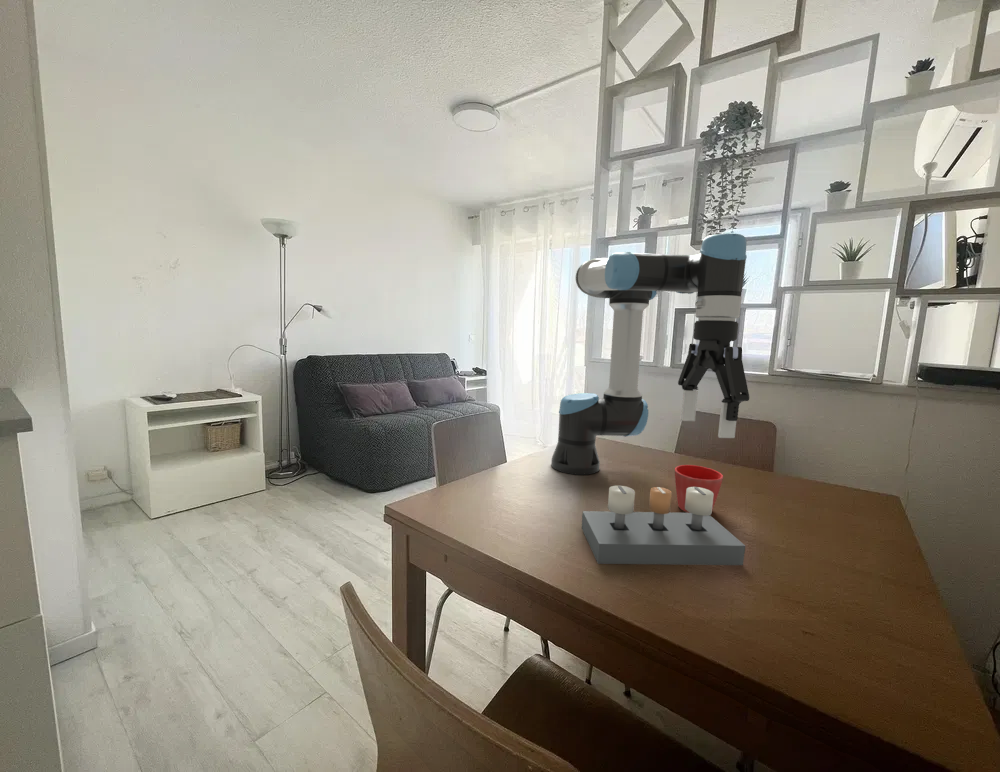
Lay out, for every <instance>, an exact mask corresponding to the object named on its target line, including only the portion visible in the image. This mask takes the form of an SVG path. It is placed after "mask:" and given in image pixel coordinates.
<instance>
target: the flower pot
mask: <svg viewBox="0 0 1000 772" xmlns="http://www.w3.org/2000/svg"><path fill="white" fill-rule="evenodd" d="M723 480H724V475H723V474H722V473H721V472H720V471H717V470H715V469H713V468H709V467H705V466H701V465H695V464H681V465H677V466H676V467H675V468H674V482H675V491H676V498H677V499H676V500H677V506H678V507H679V509H680V510H681V511H683V512H684V513H690V512H688V511H687V510H686V509H685V500H686V490H687V488H689V487H700V488H705V489H708V490H710V491H712V492H713V493H714V496H713V505H712V511H713V509H714V508H715V504H716V502H717V500H718V499H717V498H718V496H719V493H720V490H721V486H722V483H723Z"/></svg>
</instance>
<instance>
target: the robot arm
mask: <svg viewBox="0 0 1000 772" xmlns="http://www.w3.org/2000/svg"><path fill="white" fill-rule="evenodd" d="M701 242H702V243H701V247H700V250H699V253H697V254H692V255H690V254H671V253H670V254H668V253H667V254H665V253H664V254H663V253H643V252H641V253H640V252H639V253H638V252H630V251H627V252H626V251H624V252H614V253H611V254H610V255H609V256H608V257H601V258H593V259H589V260H586V261H584V262H583V263H581V264H580V265H579V266H578V268H577V270H576V273H575V282H576V287H577V288H578V289H579V291H581V292H582V293H583V294H584V295H585V294H586V295H588V296H589V297H593V298H599V299H608V305H609V307H610V308H611V309H612V310H613V318H612V335H611V336H612V337H611V350H610V365H609V366H610V367H609V379H608V380H609V384H608V388H607V389H605V390H604V391H603V397H602V398H599V395H598V394H597V393H592V392H590V393H589V392H588V393H587V392H581V393H578V392H577V393H572V394H571V393H570V394H568V395H565V396H564V397H562V398H561V400H560V404H559V410H558V414H559V415H558V416H559V417H558V418H559V419H558V433H557V434H558V437H557V438H558V439H557V444H556V446H555V448H554V452H553V454H552V457H551V467H552V469H554V470H556V471H559V472H560V473H563V474H564V473H565V474H568V475H569V474H571V475H577V476H580V475H593V474H596V473H597V472H599V471H600V465H601V464H600V458H599V454H598V450H597V447H596V437H597V436H601V437H603V436H607V437H609V436H611V437H612V436H613V437H614V436H616V437H621V436H622V437H624V438H625V437H632V436H639V435H641V434H642V432H643V431H644V430H645V428H646V426H647V423H648V420H649V419H648V418H649V409H648V408H649V406H648V405H649V404H648V402H647V401H646V400H645V399H643V394H642V392H640V390H639V389H638V386H639V374H640V373H639V371H640V360H641V358H640V357H641V347H642V346H641V345H642V331H643V317H644V316H643V315H644V311H645V309H647V308H648V307H649V305H650V301H651V300H653V299H655V297H656V296H657V294H658V293H657V292H672V293H674V292H675V293H677V294H688V295H691V294H694V293H696V301H695V303H694V304H695V306H696V307H695V317H696V318H698V320H695V322H694V323H693V324H694V325H693V334H692V338H693V339H694V340H695V341H699V343H689V347H688V353H687V356H686V359H685V362H684V363H683V368H682V370H681V372H680V375H679V378H678V381H677V384H678V385H679V386H681V389H682V390H683V394H682V396H683V397H682V403H681V405H682V406H681V414H680V415H681V416H680V421H682V422H696V412H697V406H698V405H697V403H698V393H699V392H698V390H699V387H698V385H699V384H700V382H701V380H702V379H703V378H704V376H705V374H706V372H707V371H708V370H711V371H712V372H714V373H715V376H716V379H717V382H718V385H719V387H720V390H721V392H722V397H723V399H722V400H721V404H720V412H719V413H720V415H719V423H718V434H717V437H718V438H719V439H735V436H736V430H737V429H736V428H737V421H738V418H739V417H738V416H739V410H740V409H739V408H740V404H741V403H743V402H749V401H750V394H749V390H748V389H749V388H748V384H747V377H746V372H745V368H744V363H743V347H741V346H731V342H735V341H737V338H738V334H739V333H738V332H739V323H738V321H736V320H737V319H739V318H740V316H741V306H742V293H743V286H744V276H745V270H746V262H747V238H746V236H745V235H744V234H739V233H730V232H729V233H718V234H712V235H708V236H705V238H704V239H703V240H702V241H701Z"/></svg>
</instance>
